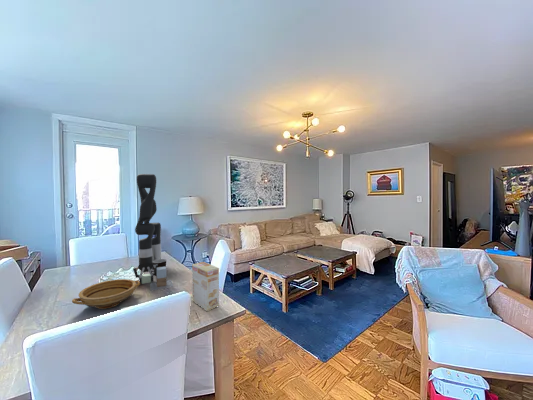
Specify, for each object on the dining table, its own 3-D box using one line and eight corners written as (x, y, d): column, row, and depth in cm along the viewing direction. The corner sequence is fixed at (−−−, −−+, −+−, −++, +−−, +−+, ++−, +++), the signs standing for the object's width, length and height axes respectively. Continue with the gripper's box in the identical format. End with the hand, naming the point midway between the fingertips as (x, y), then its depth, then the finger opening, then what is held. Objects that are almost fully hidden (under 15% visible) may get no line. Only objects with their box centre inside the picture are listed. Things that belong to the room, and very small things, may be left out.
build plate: (150, 284, 141) (150, 283, 141) (171, 281, 147) (171, 279, 147) (150, 292, 131) (150, 290, 131) (173, 288, 136) (173, 286, 136)
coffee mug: (169, 273, 161) (168, 259, 160) (162, 278, 152) (162, 263, 152) (153, 273, 162) (152, 258, 161) (145, 277, 153) (145, 262, 153)
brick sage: (141, 282, 145) (141, 274, 145) (150, 281, 147) (150, 273, 147) (141, 285, 141) (141, 277, 140) (151, 283, 143) (150, 275, 143)
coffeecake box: (219, 306, 115) (219, 267, 114) (206, 312, 110) (206, 271, 109) (204, 296, 125) (204, 261, 125) (192, 301, 120) (191, 264, 120)
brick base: (156, 284, 140) (156, 275, 140) (165, 282, 142) (165, 274, 142) (157, 287, 136) (157, 278, 135) (166, 285, 138) (166, 277, 138)
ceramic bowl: (130, 287, 137) (129, 274, 137) (150, 299, 123) (149, 284, 122) (65, 307, 114) (64, 291, 114) (80, 324, 99) (80, 306, 99)
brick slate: (156, 275, 140) (156, 267, 140) (165, 274, 142) (165, 266, 142) (157, 278, 135) (157, 270, 135) (166, 277, 138) (166, 268, 138)
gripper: (158, 252, 150) (158, 278, 151) (132, 255, 143) (133, 282, 144) (158, 255, 143) (159, 282, 144) (132, 258, 137) (132, 287, 137)
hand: (146, 282), depth 144 cm, fingers closed on brick sage, 5 cm apart
